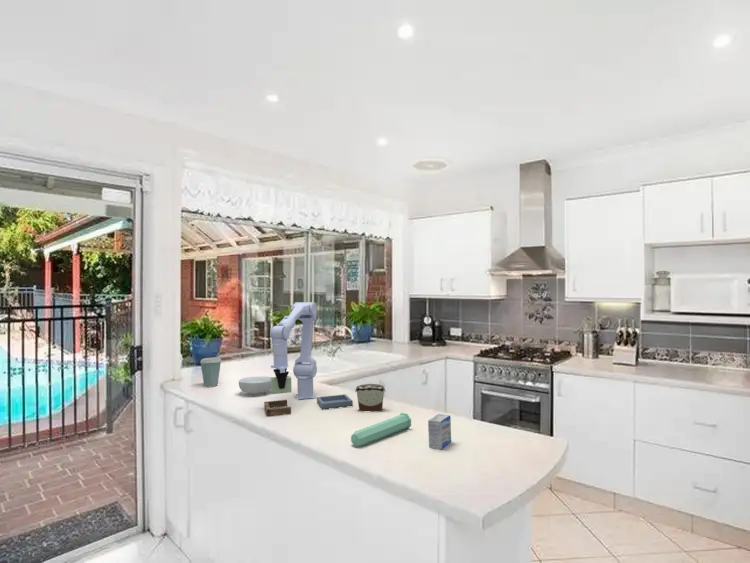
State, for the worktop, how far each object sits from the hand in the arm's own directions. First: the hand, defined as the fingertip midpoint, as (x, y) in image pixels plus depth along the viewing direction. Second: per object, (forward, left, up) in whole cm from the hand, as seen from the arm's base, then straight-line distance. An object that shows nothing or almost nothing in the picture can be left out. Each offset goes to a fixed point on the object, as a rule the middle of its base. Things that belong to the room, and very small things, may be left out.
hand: (281, 387), depth 185 cm
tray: (0, +22, -10) cm, 24 cm away
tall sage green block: (0, 0, -2) cm, 2 cm away
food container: (+14, +35, -10) cm, 39 cm away
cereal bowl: (-35, -8, -10) cm, 38 cm away
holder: (0, -2, -10) cm, 10 cm away
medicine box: (+61, +43, -10) cm, 75 cm away
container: (+47, +28, -10) cm, 55 cm away
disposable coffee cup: (-63, -30, -10) cm, 71 cm away
